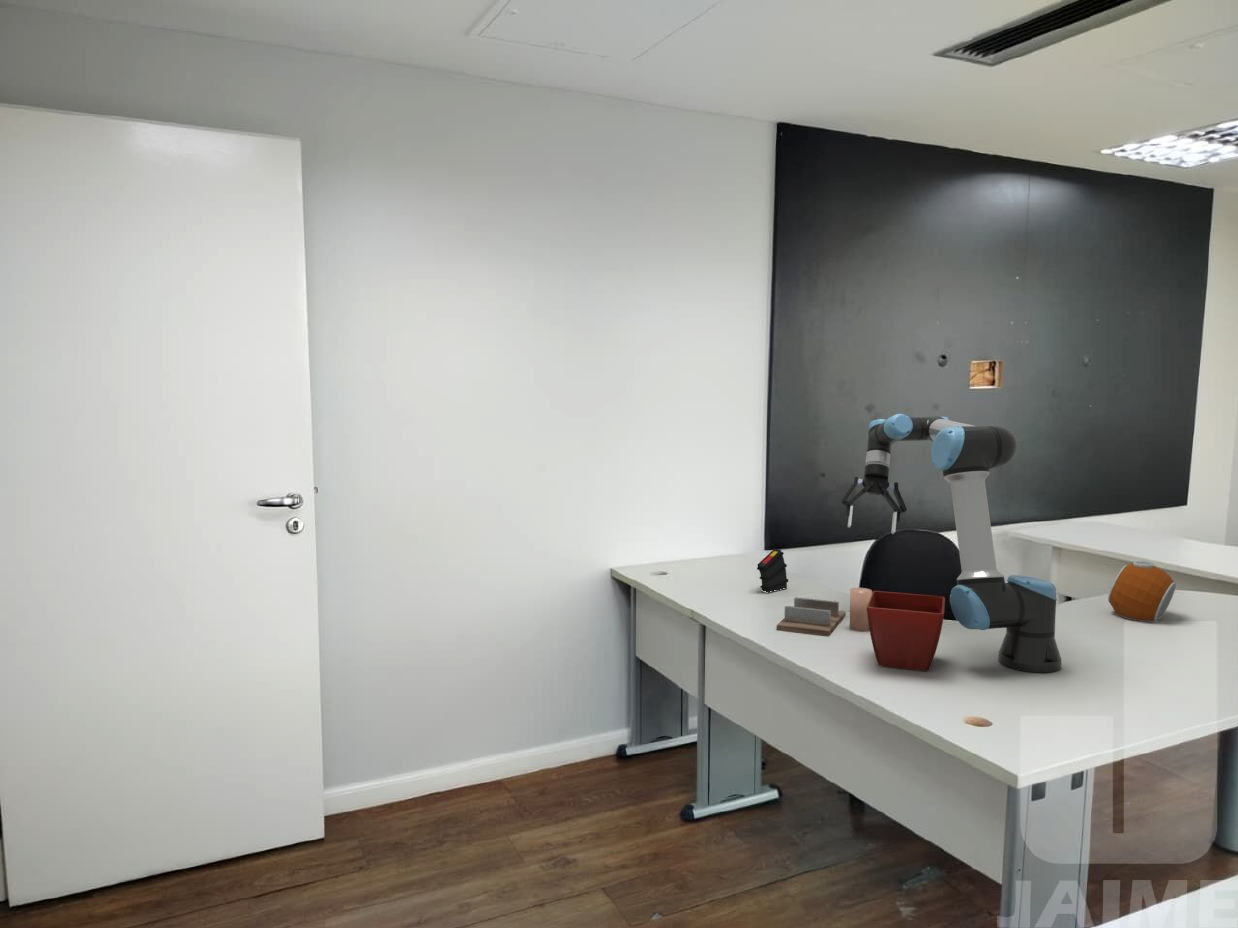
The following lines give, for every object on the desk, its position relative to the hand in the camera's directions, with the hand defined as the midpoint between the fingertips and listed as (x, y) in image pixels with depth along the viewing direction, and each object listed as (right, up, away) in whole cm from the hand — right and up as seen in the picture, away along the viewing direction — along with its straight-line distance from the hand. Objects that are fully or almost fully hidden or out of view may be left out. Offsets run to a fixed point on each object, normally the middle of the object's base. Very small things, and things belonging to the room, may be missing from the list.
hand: (871, 529), depth 269 cm
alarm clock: (+86, -28, +1) cm, 90 cm away
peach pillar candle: (-6, -30, -8) cm, 31 cm away
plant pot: (-2, -33, -39) cm, 51 cm away
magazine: (-24, -26, +40) cm, 53 cm away
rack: (-19, -29, -1) cm, 35 cm away
